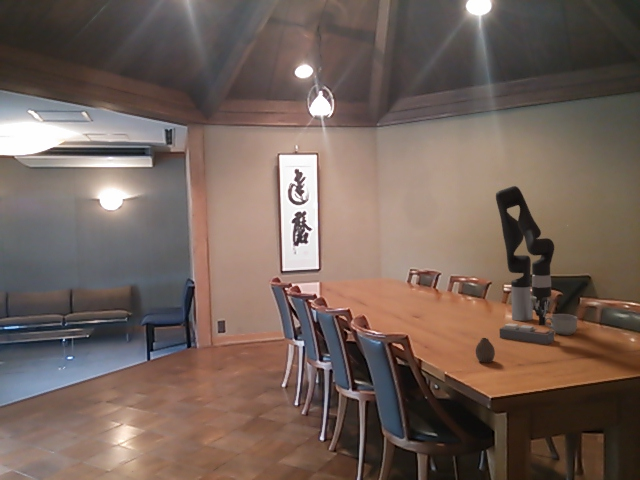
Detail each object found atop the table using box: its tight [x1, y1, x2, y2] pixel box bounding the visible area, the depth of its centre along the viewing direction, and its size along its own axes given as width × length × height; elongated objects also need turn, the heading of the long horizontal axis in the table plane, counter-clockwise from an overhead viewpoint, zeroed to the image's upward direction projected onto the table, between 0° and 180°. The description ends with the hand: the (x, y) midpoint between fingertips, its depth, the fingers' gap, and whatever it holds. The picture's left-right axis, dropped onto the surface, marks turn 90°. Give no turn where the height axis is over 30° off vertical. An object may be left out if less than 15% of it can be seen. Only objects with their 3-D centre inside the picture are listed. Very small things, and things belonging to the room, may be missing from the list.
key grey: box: [519, 324, 535, 332], centre depth 212 cm, size 5×5×2 cm
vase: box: [475, 337, 496, 364], centre depth 183 cm, size 7×7×9 cm
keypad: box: [499, 326, 555, 345], centre depth 212 cm, size 20×8×4 cm, turn 46°
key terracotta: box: [534, 328, 550, 334], centre depth 207 cm, size 5×5×2 cm
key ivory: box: [503, 323, 520, 330], centre depth 216 cm, size 5×5×2 cm
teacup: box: [544, 313, 578, 336], centre depth 219 cm, size 14×11×8 cm
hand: (542, 325), depth 207 cm, fingers closed
